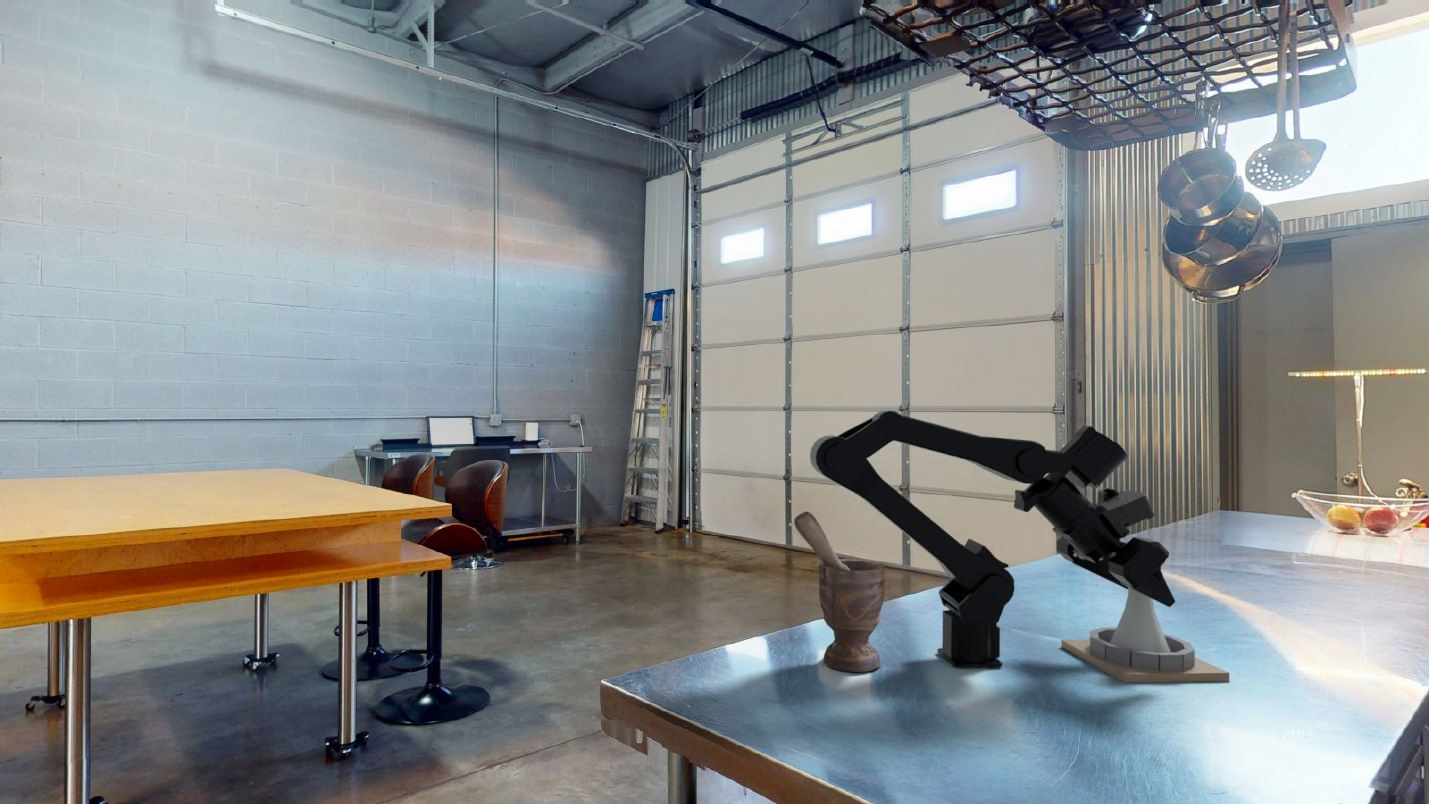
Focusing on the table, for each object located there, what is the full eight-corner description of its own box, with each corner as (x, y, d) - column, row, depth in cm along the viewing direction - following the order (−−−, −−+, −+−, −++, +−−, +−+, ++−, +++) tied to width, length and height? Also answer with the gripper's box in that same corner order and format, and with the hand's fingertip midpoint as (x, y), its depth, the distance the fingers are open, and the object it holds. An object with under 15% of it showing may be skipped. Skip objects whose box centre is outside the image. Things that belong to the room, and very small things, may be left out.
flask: (1184, 662, 97) (1185, 586, 97) (1138, 666, 95) (1138, 588, 95) (1140, 645, 104) (1141, 574, 104) (1096, 648, 102) (1097, 576, 102)
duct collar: (1124, 682, 92) (1124, 658, 92) (1061, 646, 106) (1061, 625, 106) (1229, 680, 93) (1229, 656, 93) (1153, 645, 107) (1153, 624, 107)
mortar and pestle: (817, 681, 90) (819, 518, 91) (785, 659, 98) (787, 509, 99) (896, 671, 95) (898, 515, 95) (859, 650, 103) (861, 507, 103)
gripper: (1153, 476, 90) (1243, 568, 90) (1078, 465, 109) (1151, 541, 109) (1089, 540, 90) (1178, 632, 90) (1024, 518, 109) (1098, 594, 109)
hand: (1150, 595), depth 99 cm, fingers open, 9 cm apart
